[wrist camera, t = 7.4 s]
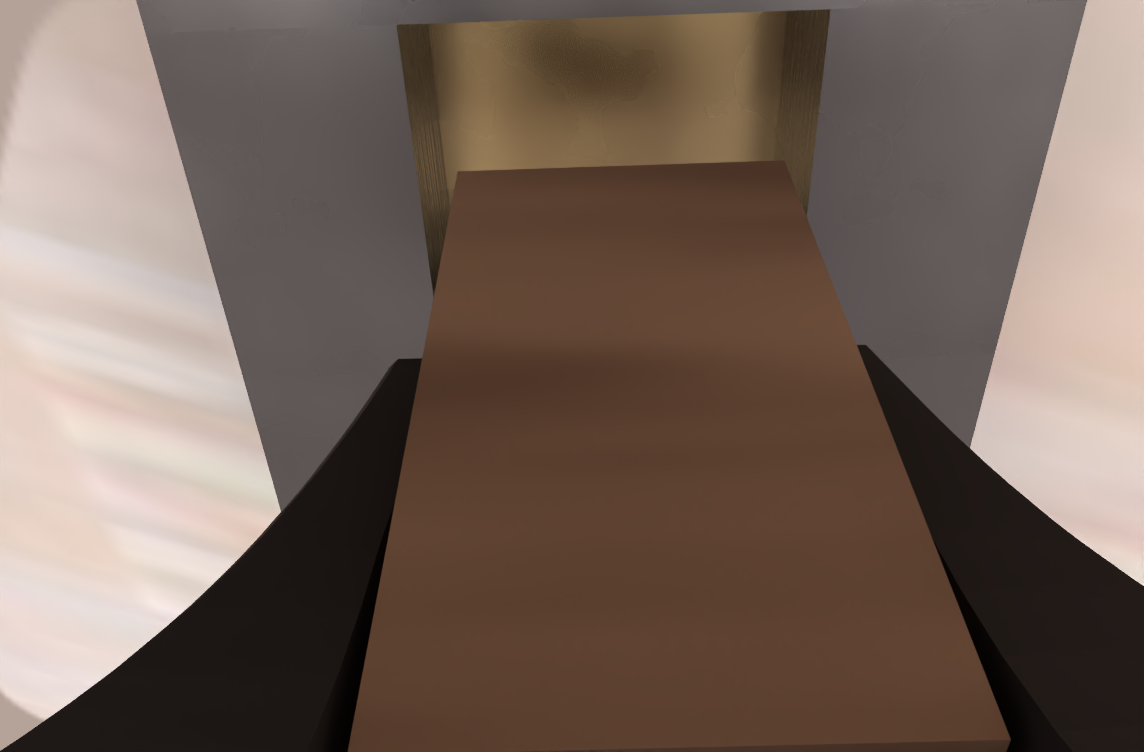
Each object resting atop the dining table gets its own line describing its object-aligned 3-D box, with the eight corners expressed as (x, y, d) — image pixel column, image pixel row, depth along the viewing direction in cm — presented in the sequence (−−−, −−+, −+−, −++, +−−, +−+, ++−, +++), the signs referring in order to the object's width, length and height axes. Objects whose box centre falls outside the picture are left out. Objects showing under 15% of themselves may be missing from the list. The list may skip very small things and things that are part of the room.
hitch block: (900, 425, 23) (945, 538, 20) (326, 442, 23) (293, 556, 21) (1071, -411, 14) (1195, -415, 11) (136, -371, 14) (32, -365, 12)
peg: (759, 414, 15) (904, 1020, 9) (485, 422, 15) (426, 1028, 9) (784, 160, 13) (1012, 739, 6) (457, 170, 13) (345, 755, 6)
